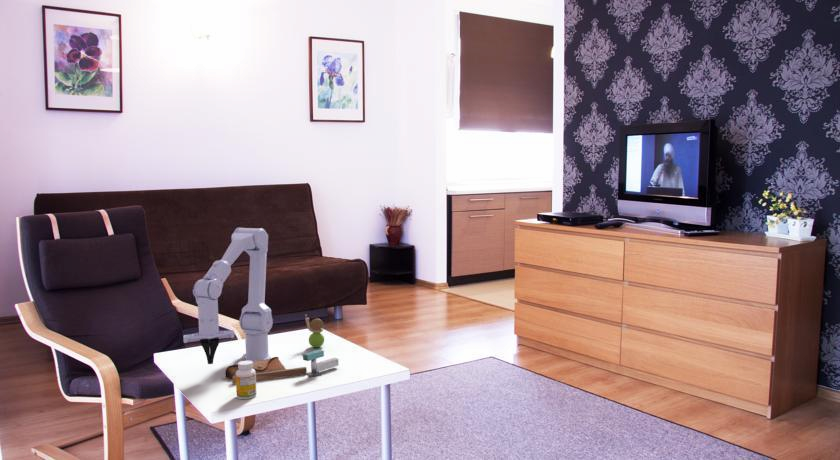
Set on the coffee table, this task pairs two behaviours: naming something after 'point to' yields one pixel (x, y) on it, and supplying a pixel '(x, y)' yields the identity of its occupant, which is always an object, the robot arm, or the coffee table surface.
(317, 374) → the lock plate
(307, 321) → the snail figurine
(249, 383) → the supplement bottle
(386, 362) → the coffee table surface
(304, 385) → the coffee table surface
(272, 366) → the sunglasses case
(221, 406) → the coffee table surface
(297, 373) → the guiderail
